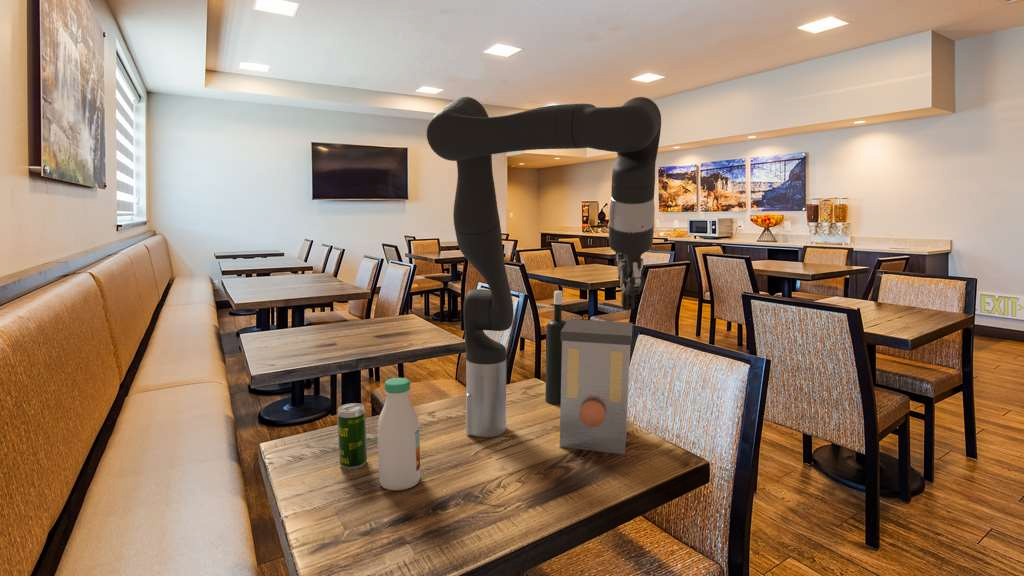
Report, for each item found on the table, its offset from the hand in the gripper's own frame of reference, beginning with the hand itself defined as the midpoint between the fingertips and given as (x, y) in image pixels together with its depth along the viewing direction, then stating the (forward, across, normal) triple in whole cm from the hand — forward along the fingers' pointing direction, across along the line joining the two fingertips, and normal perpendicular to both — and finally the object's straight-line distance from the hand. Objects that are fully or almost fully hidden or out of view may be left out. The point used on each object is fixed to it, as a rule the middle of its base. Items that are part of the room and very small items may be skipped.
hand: (627, 307), depth 101 cm
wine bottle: (+45, +26, +12) cm, 53 cm away
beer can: (+29, -6, +56) cm, 64 cm away
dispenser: (+37, +3, +6) cm, 37 cm away
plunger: (+30, +4, +5) cm, 31 cm away
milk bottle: (+27, -13, +46) cm, 55 cm away
